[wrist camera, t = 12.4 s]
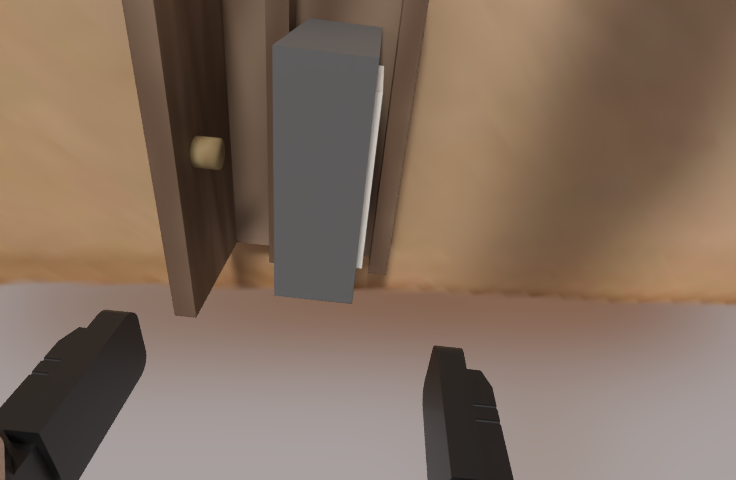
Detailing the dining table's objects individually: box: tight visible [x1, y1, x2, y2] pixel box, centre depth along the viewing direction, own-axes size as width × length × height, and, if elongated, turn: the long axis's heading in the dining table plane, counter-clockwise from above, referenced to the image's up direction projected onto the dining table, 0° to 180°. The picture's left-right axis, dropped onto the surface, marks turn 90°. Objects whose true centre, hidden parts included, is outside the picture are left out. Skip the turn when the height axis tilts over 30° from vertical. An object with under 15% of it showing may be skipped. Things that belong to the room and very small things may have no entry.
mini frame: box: [272, 18, 384, 304], centre depth 24 cm, size 4×12×9 cm, turn 174°
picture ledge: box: [122, 0, 429, 318], centre depth 25 cm, size 12×18×10 cm, turn 174°
